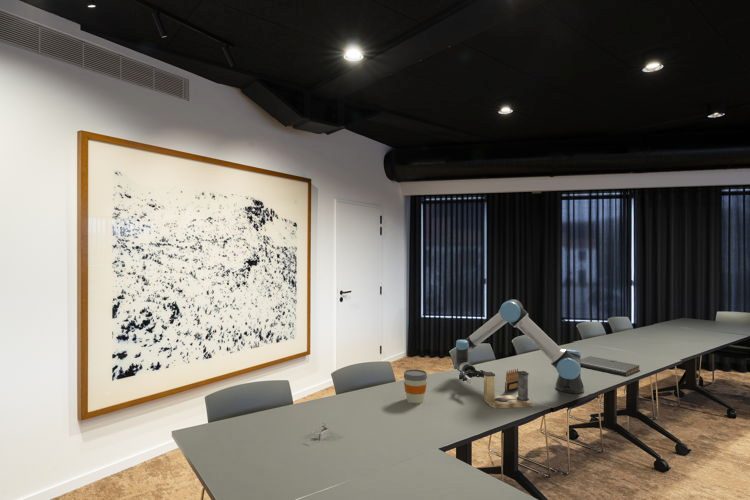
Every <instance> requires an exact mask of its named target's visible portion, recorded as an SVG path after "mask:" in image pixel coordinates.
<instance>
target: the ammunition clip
mask: <svg viewBox="0 0 750 500" xmlns="http://www.w3.org/2000/svg"><path fill="white" fill-rule="evenodd" d="M517 371H519V369H518V368H514V369H510V370H506V374H505V382H504V383H505V384H504V391H505V392H506V393H510V392H514V391H518V390H517V389H518V373H517ZM513 390H514V391H513Z"/></svg>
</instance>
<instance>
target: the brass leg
mask: <svg viewBox="0 0 750 500" xmlns="http://www.w3.org/2000/svg"><path fill="white" fill-rule="evenodd" d="M483 374H484V378H483V399H485V400H486V401H494V396H495V377H496V374H495V373H494V372H492V371H485V372H483ZM485 400H484V401H485ZM486 401H485V402H486Z"/></svg>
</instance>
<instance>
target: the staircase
mask: <svg viewBox="0 0 750 500" xmlns="http://www.w3.org/2000/svg"><path fill="white" fill-rule="evenodd" d="M322 428H323V429H322ZM319 429H322V430H321V431H320V432H315V431H317V430H319ZM329 429H330V428H328V427H327V424H326V423H324V422H322V424H321V426H320V427H318V428H315V429H314V430H313V429H312V430H311V433H312V434H316V435H319V436H318V440H319V441H320V442H322V441H323V440H326V439H328V438H329V437H330V430H329Z"/></svg>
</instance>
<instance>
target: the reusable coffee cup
mask: <svg viewBox="0 0 750 500" xmlns="http://www.w3.org/2000/svg"><path fill="white" fill-rule="evenodd" d="M427 379H428V376H427V371H425V370H423V369H415V368H413V369H407V370H404V372H403V380H404V381H403V385H404V391H405V393H406V394H405V395H406V401H407V402H408V403H411V404H421V403H422V404H423V402H424V400H425V393H426V391H427Z"/></svg>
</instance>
